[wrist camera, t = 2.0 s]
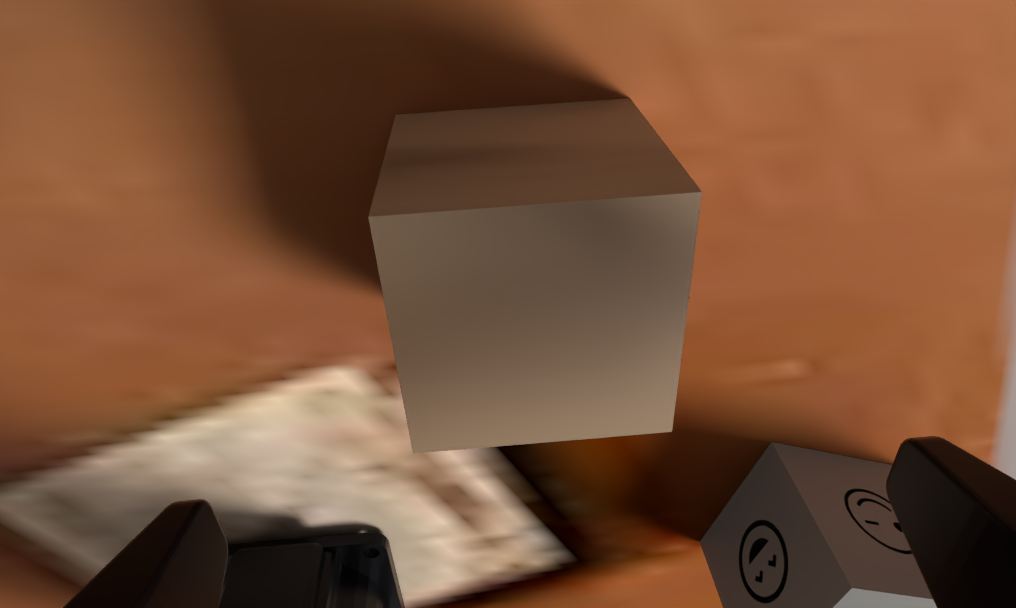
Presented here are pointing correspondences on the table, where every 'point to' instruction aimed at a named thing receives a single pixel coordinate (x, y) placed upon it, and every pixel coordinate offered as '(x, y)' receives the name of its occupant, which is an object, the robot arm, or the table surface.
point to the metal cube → (534, 272)
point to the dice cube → (813, 537)
